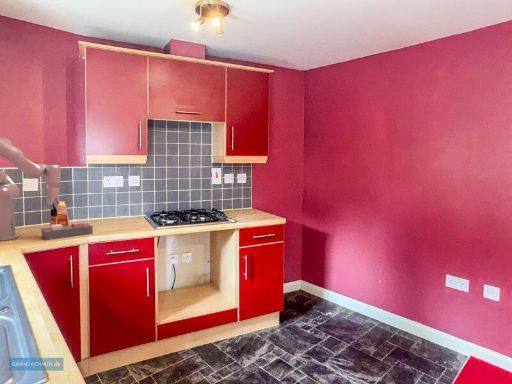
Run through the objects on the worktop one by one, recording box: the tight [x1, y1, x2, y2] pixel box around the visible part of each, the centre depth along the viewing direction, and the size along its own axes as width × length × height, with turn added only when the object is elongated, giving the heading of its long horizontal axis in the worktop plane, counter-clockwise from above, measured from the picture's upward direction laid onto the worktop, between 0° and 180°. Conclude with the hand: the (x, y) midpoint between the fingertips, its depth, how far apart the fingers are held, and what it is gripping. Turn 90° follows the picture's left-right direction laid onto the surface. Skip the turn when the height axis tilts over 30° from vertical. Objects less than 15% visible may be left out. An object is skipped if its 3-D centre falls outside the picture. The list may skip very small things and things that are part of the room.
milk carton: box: [49, 200, 70, 226], centre depth 242 cm, size 9×9×20 cm
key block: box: [41, 222, 93, 241], centre depth 229 cm, size 11×26×5 cm, turn 130°
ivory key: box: [49, 224, 63, 230], centre depth 225 cm, size 6×6×5 cm
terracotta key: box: [71, 221, 85, 227], centre depth 232 cm, size 6×6×5 cm
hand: (53, 215), depth 224 cm, fingers closed
